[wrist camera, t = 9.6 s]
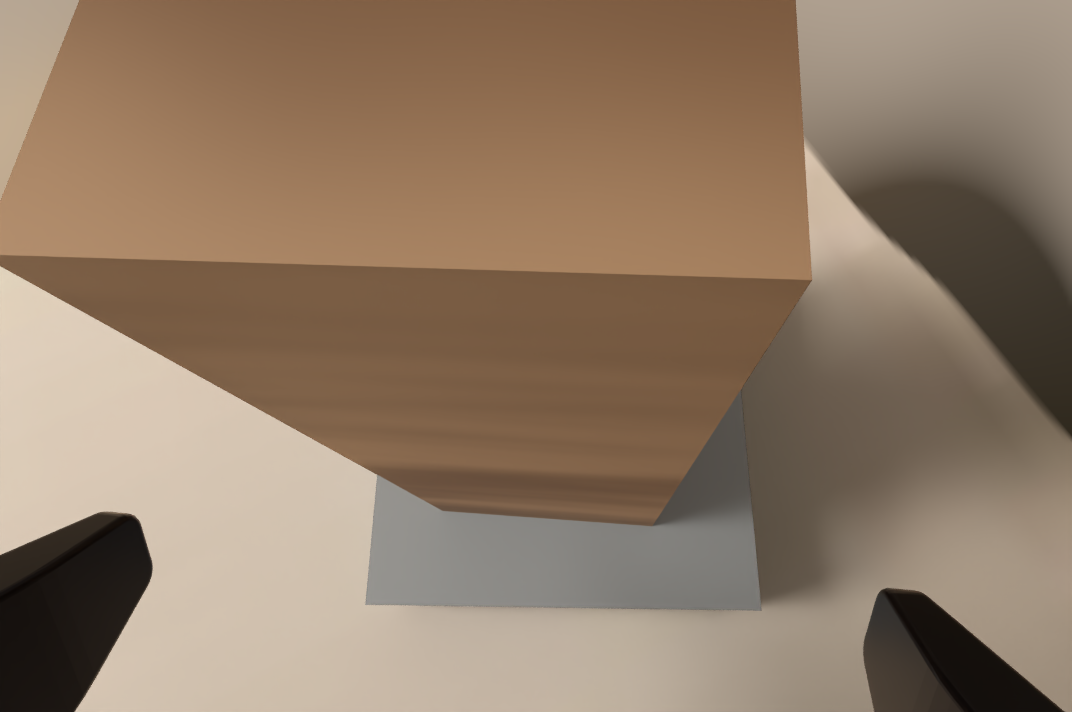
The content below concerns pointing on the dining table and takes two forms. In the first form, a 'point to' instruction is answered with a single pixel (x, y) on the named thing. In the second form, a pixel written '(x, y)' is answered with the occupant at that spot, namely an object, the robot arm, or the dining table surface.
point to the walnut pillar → (436, 225)
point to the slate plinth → (579, 548)
